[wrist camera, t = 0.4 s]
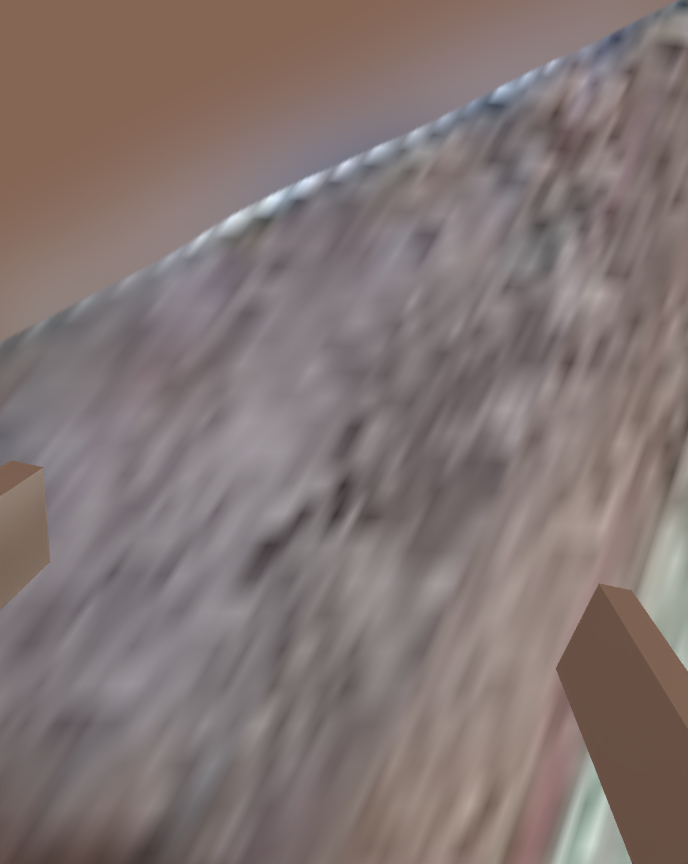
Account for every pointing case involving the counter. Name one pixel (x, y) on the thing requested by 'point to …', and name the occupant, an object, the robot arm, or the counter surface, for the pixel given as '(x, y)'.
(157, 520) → the counter surface
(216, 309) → the counter surface
